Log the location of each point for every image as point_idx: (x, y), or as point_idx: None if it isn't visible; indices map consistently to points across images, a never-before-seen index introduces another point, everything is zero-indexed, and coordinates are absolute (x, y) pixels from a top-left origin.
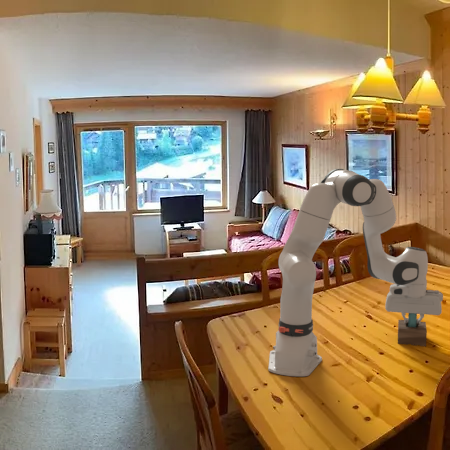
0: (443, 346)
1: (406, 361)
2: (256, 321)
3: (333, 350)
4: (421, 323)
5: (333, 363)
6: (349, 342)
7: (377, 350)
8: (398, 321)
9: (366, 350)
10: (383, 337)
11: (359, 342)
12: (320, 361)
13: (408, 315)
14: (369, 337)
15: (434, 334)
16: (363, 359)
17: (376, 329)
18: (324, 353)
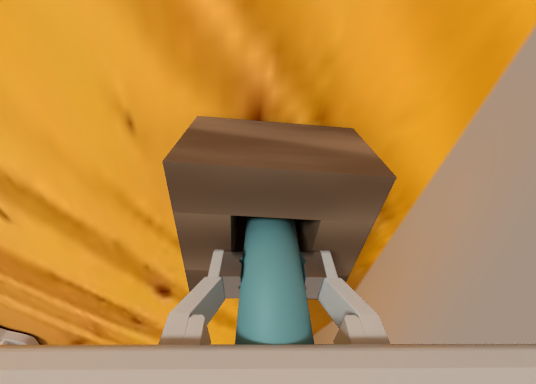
0: (396, 218)
1: None
2: None
3: (18, 297)
4: (348, 212)
5: (70, 340)
6: (19, 245)
7: (147, 280)
8: (170, 194)
9: (113, 284)
10: (131, 172)
11: (55, 239)
12: (37, 344)
13: (237, 321)
14: (65, 185)
15: (439, 62)
16: (128, 321)
17: (33, 37)
18: (10, 312)
